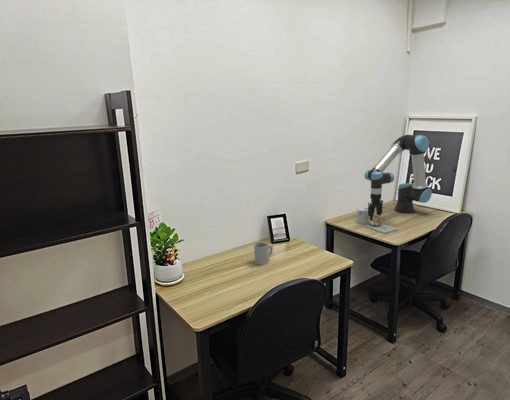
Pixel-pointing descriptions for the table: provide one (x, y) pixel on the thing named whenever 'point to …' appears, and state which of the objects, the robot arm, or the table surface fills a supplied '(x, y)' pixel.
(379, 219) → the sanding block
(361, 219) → the light bulb box
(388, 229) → the board
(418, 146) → the robot arm
